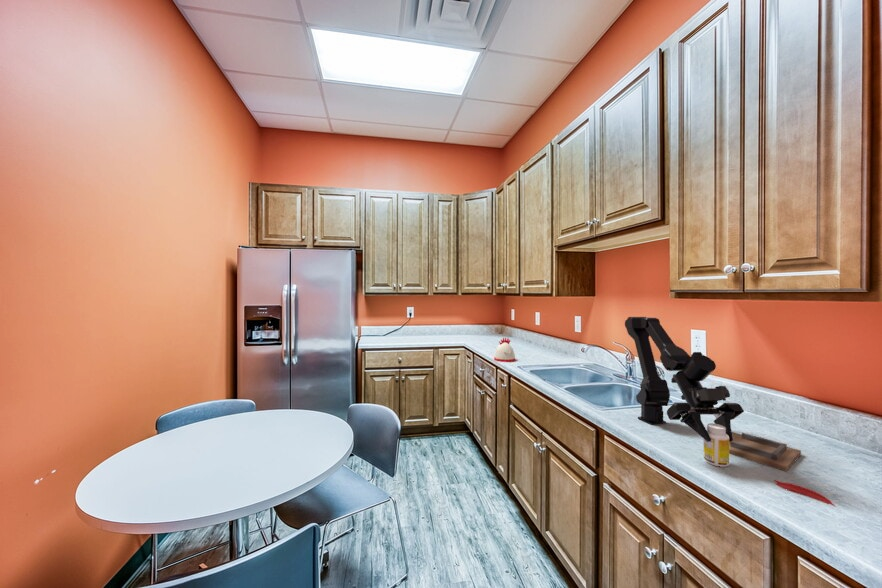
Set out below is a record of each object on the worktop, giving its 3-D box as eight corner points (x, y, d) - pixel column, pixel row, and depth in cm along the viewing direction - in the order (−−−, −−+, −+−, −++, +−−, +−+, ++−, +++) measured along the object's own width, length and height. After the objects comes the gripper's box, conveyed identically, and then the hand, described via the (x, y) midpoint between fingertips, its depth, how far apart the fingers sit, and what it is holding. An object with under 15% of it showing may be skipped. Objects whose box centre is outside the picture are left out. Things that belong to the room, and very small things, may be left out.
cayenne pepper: (765, 481, 88) (765, 474, 88) (780, 480, 88) (780, 472, 88) (825, 511, 76) (825, 502, 76) (842, 509, 76) (842, 500, 76)
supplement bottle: (729, 462, 96) (730, 425, 96) (728, 470, 92) (728, 431, 92) (704, 455, 100) (705, 420, 100) (702, 462, 96) (702, 426, 96)
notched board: (712, 448, 105) (712, 439, 104) (731, 435, 114) (731, 427, 114) (786, 471, 91) (786, 461, 91) (800, 454, 100) (800, 445, 100)
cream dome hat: (518, 361, 229) (518, 338, 229) (499, 362, 226) (499, 339, 226) (509, 357, 243) (509, 335, 243) (491, 358, 239) (490, 336, 239)
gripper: (673, 375, 100) (701, 429, 89) (738, 375, 100) (775, 429, 89) (656, 394, 108) (680, 445, 97) (716, 394, 108) (747, 445, 97)
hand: (720, 441), depth 95 cm, fingers closed on supplement bottle, 6 cm apart
